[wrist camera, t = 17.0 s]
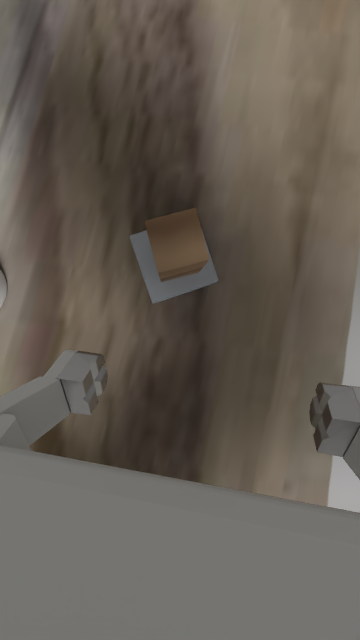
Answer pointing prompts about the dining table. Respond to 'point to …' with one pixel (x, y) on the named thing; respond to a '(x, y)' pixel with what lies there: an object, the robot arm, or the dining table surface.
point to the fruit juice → (2, 288)
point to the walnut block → (177, 244)
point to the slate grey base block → (172, 287)
